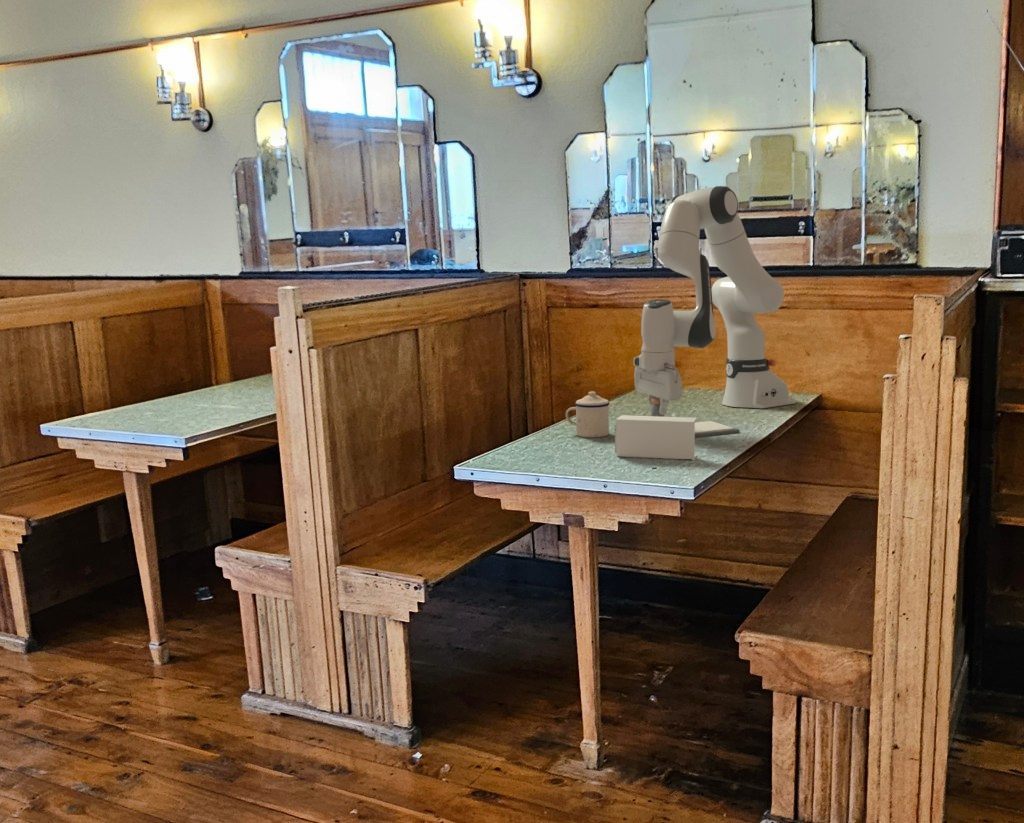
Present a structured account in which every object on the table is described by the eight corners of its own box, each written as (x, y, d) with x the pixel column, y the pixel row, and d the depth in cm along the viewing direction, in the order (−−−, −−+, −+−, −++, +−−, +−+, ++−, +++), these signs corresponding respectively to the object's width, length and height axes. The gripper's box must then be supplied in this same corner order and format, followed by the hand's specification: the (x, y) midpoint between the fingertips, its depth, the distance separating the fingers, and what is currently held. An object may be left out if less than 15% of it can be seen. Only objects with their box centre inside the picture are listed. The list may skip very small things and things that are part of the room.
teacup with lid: (613, 432, 284) (613, 389, 282) (604, 438, 276) (604, 395, 274) (571, 430, 288) (570, 388, 286) (561, 436, 280) (560, 393, 278)
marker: (660, 424, 283) (660, 397, 282) (666, 426, 280) (666, 399, 279) (649, 425, 282) (648, 398, 281) (655, 427, 279) (655, 400, 278)
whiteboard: (712, 423, 292) (712, 420, 291) (739, 432, 279) (739, 428, 278) (631, 432, 283) (631, 428, 283) (655, 441, 270) (655, 437, 270)
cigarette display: (698, 456, 252) (698, 417, 251) (693, 461, 247) (693, 421, 246) (617, 452, 259) (616, 415, 258) (611, 457, 254) (610, 419, 252)
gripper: (688, 365, 270) (688, 417, 272) (650, 356, 289) (651, 406, 291) (666, 366, 268) (666, 420, 270) (630, 358, 286) (630, 408, 289)
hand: (658, 412), depth 281 cm, fingers closed on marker, 3 cm apart
